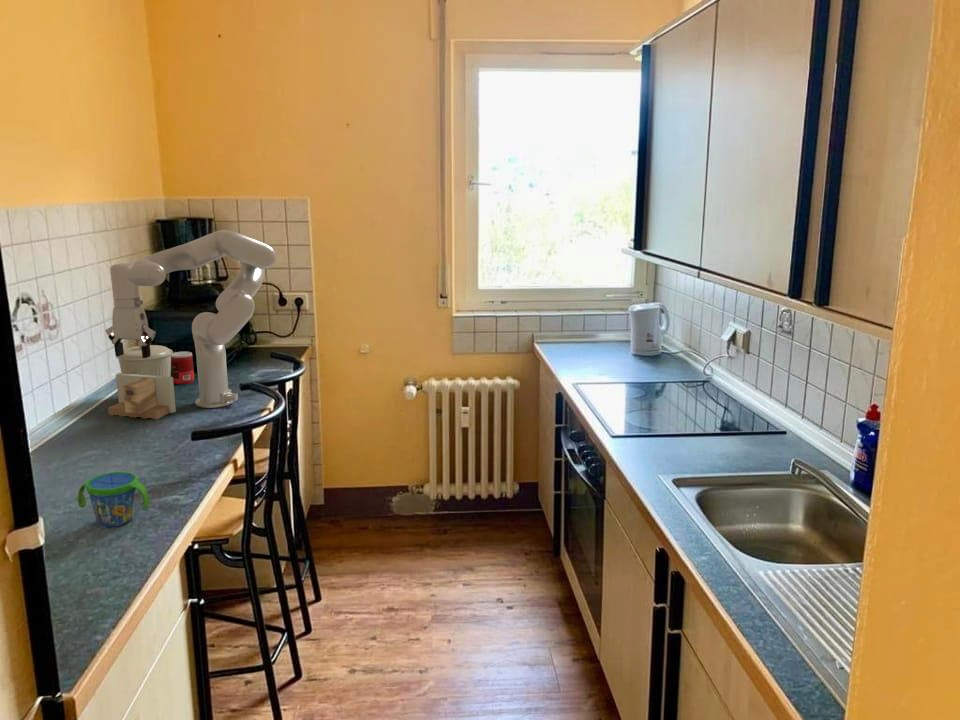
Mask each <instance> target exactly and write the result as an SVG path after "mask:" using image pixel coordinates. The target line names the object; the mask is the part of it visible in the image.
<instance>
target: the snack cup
mask: <svg viewBox="0 0 960 720" xmlns="http://www.w3.org/2000/svg"><path fill="white" fill-rule="evenodd" d="M85 489H86V492H87V493H88V494H89V498H90V501H91V506H92V509H93V511H94V516H95V518H96V522H97V524H98V525H99V526H100V527H105V528H110V527H115V526H118V527H120V526H123V525H122V524H124V525H126V524H128V523H130V522H131V521H133V518H134V514H135V504H136V503H135V502H136V490H137V492H138V493H139V494H140V495H141V496H142V499H143V500H142V510H143V511H146V510H147V508H148V507H149V504H150V498H149V494H148V491H147V488H146V487H145V486H144V485H143V483H141V482H139V481H138V476H137V475H136V474H134V473H132V472H128V471H112V472H111V471H110V472H107V473H102V474H98V475H96V476H94V477H92V478H90V479H88V480H86V482H85V483H83V484H82V485H80V487H79V489H78V494H77V504H78V507H80V508H85V507H86V505H87V498H86V495H85ZM129 521H130V522H129ZM127 522H128V523H127ZM125 523H126V524H125Z"/></svg>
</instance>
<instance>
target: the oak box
mask: <svg viewBox="0 0 960 720" xmlns="http://www.w3.org/2000/svg"><path fill="white" fill-rule="evenodd" d="M123 394H124V403H125V412H127V413H138V414H139V413H141V412H144V411H146V410H148V409H150V408H152V407H154V406H157V402H156V392H155V382H154V379H146V378H140V379H137V380H135V381H132V382H130V383H127V384H125V385H123Z"/></svg>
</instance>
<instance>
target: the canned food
mask: <svg viewBox="0 0 960 720" xmlns="http://www.w3.org/2000/svg"><path fill="white" fill-rule="evenodd" d="M193 360H194V359H193V353H192V352H191V351H178V352H177V351H175V352H173V353H172V354H171V377H173V384H174V385H178V384H182V385H188V383H189V384H192V383H193V382H194V381H195V371H194V361H193Z"/></svg>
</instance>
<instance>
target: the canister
mask: <svg viewBox="0 0 960 720" xmlns="http://www.w3.org/2000/svg"><path fill="white" fill-rule="evenodd" d="M137 345H138V346H137ZM137 345H136V346H132V347H127V348H123V350H124V354H123V355H121V356H118V357H117V356H116V355H115V357H116V359H118V363H119V367H120V368H119V369H120V373H126V374H139V375H152V376H165V377H171V376H172V372H171V354H172V353H174V351H173V349H171V348H168V347H167V346H164V345H158V344H157V345H155V344H150V352H151V353H150V357H147V358H143V357H142V349H141V347H142V346H143V345H142V343H141V342H140V341H139V340H138V344H137Z"/></svg>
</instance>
